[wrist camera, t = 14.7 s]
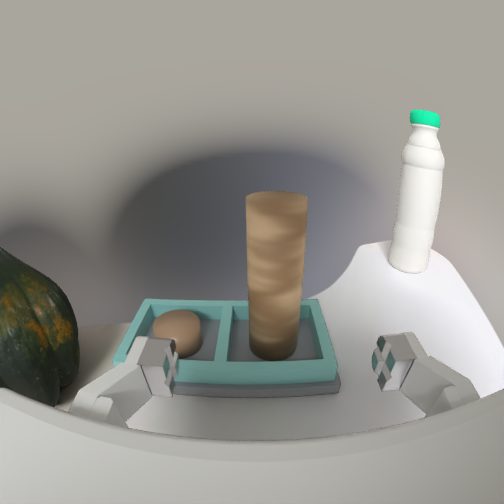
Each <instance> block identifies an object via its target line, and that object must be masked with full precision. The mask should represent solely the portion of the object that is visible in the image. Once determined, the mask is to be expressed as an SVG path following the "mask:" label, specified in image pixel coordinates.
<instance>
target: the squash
mask: <svg viewBox="0 0 504 504" xmlns="http://www.w3.org/2000/svg"><path fill="white" fill-rule="evenodd" d="M79 354H80V353H79V343H78V328H77V322H76V318H75V315H74V312H73V309H72V307H71V304H70V302H69V300H68V298H67V296H66V295H65V293H64V292H63V291H62V290H61V288H60V287H59V286H58V285H57V284H56V283H55V282H54V281H52V280H51V279H50V278H49V277H47V276H45V275H44V274H42V273H41V272H39V271H37V270H36V269H34V268H33V267H31V266H29V265H27V264H25V263H24V262H22V261H21V260H19V259H17V258H16V257H14V256H13V255H11V254H10V253H8V252H7V251H5V250H4V249H2V248H1V247H0V388H7V389H10V390H12V391H14V392H16V393H18V394H21V395H23V396H25V397H28V398H30V399H33V400H35V401H38V402H40V403H43V404H46V405H49V406H51V407H55V406H56V404H57V402H58V399H59V396H60V388H59V387H64V386H66V385H68V384H70V383H71V382H73V381H74V379H75V378H76V376H77V373H78V367H79Z"/></svg>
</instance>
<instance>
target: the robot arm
mask: <svg viewBox="0 0 504 504" xmlns="http://www.w3.org/2000/svg"><path fill="white" fill-rule="evenodd" d="M377 345H378V348H377V349H376V350H374V352H373V356H372V367H373V370H374V372H375V373H376V374H377V375H379V377H378V380H377V381H378V383H379V386H380V388H381V391H382V392H384V391H391V390H398V389H400V391H401V392H402V393H403V394H404V395H405V396H407V397H408V398H409V399H410V400H411V401H412V402H413V403H414V404H416V405H417V406H418V407H419V408H420V409H421V410H422V411H423V412H425V413H426V416H425V417H424V418H422V419H419V420H415V421H411V422H407V423H403V424H399V425H394V426H390V427H385V428H380V429H375V430H370V431H364V432H358V433H352V434H345V435H338V436H330V437H321V438H310V439H296V440H273V441H240V440H217V439H203V438H192V437H183V436H174V435H167V434H160V433H154V432H148V431H142V430H137V429H132V428H129V427H128V426H127V424H126V423H125V422H126V421H127V420H128V419H129V418H130V417H131V416H132V415H133V414H135V413H136V412H137V411H138V410H139V409H140V408H141V407H142V406H143V405H144V404H145V403H146V402H147V401H148V400H149V399H150V398H151V397H152V396H162V397H172V396H173V393H174V389H175V381H174V379H175V378H176V377H178V373H179V356H178V354H177V353H176V352H175V349H176V343H175V340H174V339H168V338H158V337H146V336H137V337H136V338H135V341H134V343H133V345H132V347H131V349H130V351H129V353H128V356H127V358H126V360H125V362H124V363H120V364H118V365H117V366H115V367H114V368H112V369H111V370H109V371H107V372H106V373H104V374H103V375H101V376H100V377H98V378H97V379H95V380H94V381H92V382H91V383H89V384H88V385H86V386H84V387H83V388H81V389H80V390H79V391H78V393H77V395H76V397H75V399H74V401H73V403H72V405H71V407H70V409H69V411H68V412H66V411H63V410H60V409H57V408H54V407H51V406H49V405H46V404H43V403H40V402H38V401H35V400H33V399H30V398H28V397H25V396H23V395H21V394H18V393H16V392H14V391H12V390H10V389H7V388H0V504H504V389H502V390H500V391H497V392H495V393H493V394H491V395H488V396H486V397H484V398H480V396H479V395H478V393H477V391H476V390H475V388H474V386H473V384H472V383H471V381H470V380H469V379H468V378H466V377H464V376H463V375H461V374H459V373H458V372H456V371H454V370H453V369H451V368H449V367H448V366H446V365H444V364H443V363H441V362H439V361H438V360H436V359H434V358H433V357H431V356H429V357H428V356H427V354H426V352H425V351H424V349H423V347H422V346H421V344H420V343H419V341H418V339H417V338H416V336H415V334H414V333H413V332H406V333H401V334H392V335H383V336H380V337H379V338H378V341H377Z"/></svg>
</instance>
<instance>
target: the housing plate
mask: <svg viewBox="0 0 504 504" xmlns="http://www.w3.org/2000/svg"><path fill="white" fill-rule="evenodd" d="M137 336H146V337H158V338H168V339H174V340H175V343H176V349H175V352H176V353H177V354H178V356H179V373H178V377H176V378H175V379H174V381H175V389H174V393H173V394H183V395H196V396H213V397H290V396H308V395H321V394H331V393H338V392H339V389H340V386H341V382H340V379H339V375H338V371H337V369H338V365H337V361H336V358H335V355H334V351H333V348H332V344H331V341H330V338H329V334H328V331H327V328H326V324H325V321H324V318H323V315H322V311H321V308H320V305H319V302H318V299H305V300H301V308H300V319H299V329H298V338H297V347H296V350H295V352H294V353H293V354H292V355H291V356H290V357H288V358H287V359H284V360H280V361H267V360H263V359H260V358H258V357H256V356H255V355H254V354H253V353H252V352H251V350H250V346H249V311H248V301H221V300H216V301H214V300H166V299H165V300H164V299H145V300H144V302H143V303H142V305H141V307H140V309H139V311H138V312H137V314H136V316H135V318H134V320H133V321H132V323H131V325H130V327H129V329H128V331H127V333H126V335H125V336H124V338H123V340H122V342H121V344H120V346H119V348H118V350H117V352H116V354H115V356H114V358H113V360H112V362H113V364H114V366H117V365H118V364H120V363H124V362H125V360H126V358H127V356H128V353H129V351H130V349H131V347H132V345H133V343H134V341H135V338H136V337H137Z"/></svg>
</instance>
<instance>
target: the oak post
mask: <svg viewBox="0 0 504 504" xmlns="http://www.w3.org/2000/svg"><path fill="white" fill-rule="evenodd" d="M307 205H308V198H307V197H306V196H304V195H301V194H298V193H293V192H285V191H264V192H257V193H253V194H250V195H248V196H247V197H246V228H247V271H248V311H249V346H250V350H251V352H252V353H253V354H254V355H255V356H256V357H258V358H260V359H263V360H267V361H280V360H284V359H287V358H288V357H290V356H291V355H292V354H293V353H294V352H295V350H296V347H297V338H298V329H299V319H300V308H301V297H302V285H303V271H304V258H305V242H306V225H307Z"/></svg>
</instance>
